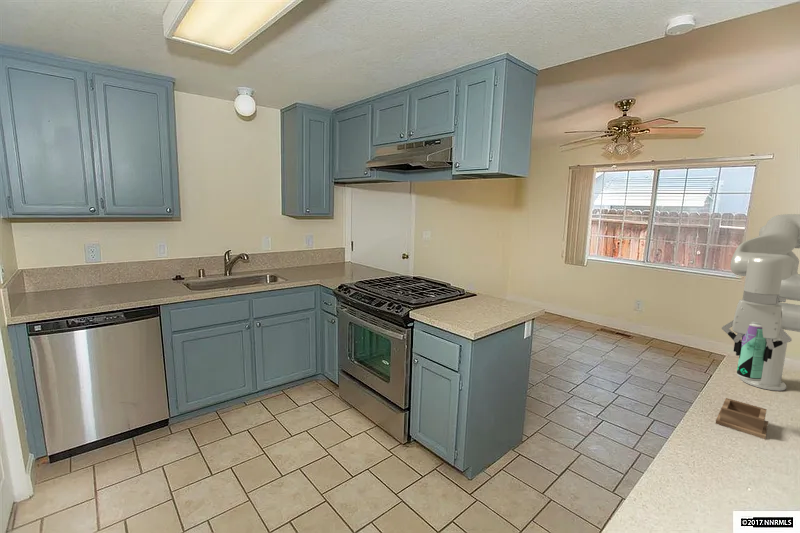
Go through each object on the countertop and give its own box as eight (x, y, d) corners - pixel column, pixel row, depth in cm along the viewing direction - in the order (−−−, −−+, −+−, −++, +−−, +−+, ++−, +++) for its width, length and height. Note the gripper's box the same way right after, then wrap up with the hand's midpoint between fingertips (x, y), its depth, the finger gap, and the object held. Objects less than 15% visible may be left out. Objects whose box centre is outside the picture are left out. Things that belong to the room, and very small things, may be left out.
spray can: (750, 373, 114) (760, 310, 111) (766, 381, 109) (776, 315, 106) (731, 372, 115) (740, 310, 112) (746, 380, 109) (755, 315, 106)
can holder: (721, 410, 122) (723, 396, 121) (768, 424, 114) (770, 409, 113) (715, 423, 114) (717, 408, 114) (765, 439, 106) (767, 423, 106)
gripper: (803, 301, 105) (793, 362, 107) (723, 291, 117) (716, 346, 120) (803, 306, 100) (792, 370, 102) (719, 295, 112) (712, 352, 115)
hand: (751, 356), depth 111 cm, fingers closed on spray can, 5 cm apart
